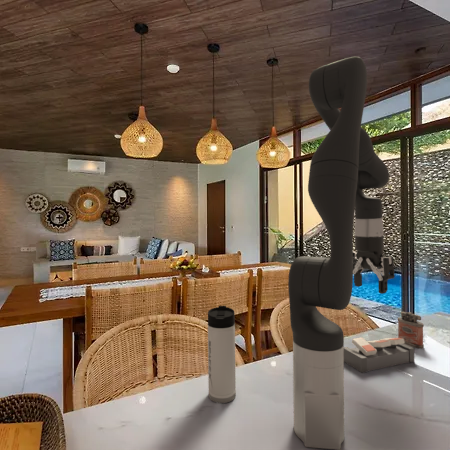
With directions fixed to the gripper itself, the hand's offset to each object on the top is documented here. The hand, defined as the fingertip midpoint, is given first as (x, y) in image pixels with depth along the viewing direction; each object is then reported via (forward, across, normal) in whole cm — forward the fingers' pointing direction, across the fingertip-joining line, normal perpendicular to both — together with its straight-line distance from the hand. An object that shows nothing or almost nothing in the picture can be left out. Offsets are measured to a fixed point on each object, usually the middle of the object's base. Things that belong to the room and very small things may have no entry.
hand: (370, 289), depth 90 cm
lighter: (+21, -1, +18) cm, 28 cm away
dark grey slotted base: (+20, +3, -1) cm, 20 cm away
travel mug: (+18, +1, -48) cm, 51 cm away
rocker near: (+14, +3, -6) cm, 16 cm away
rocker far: (+15, +3, +4) cm, 16 cm away
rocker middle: (+15, +3, -1) cm, 15 cm away
